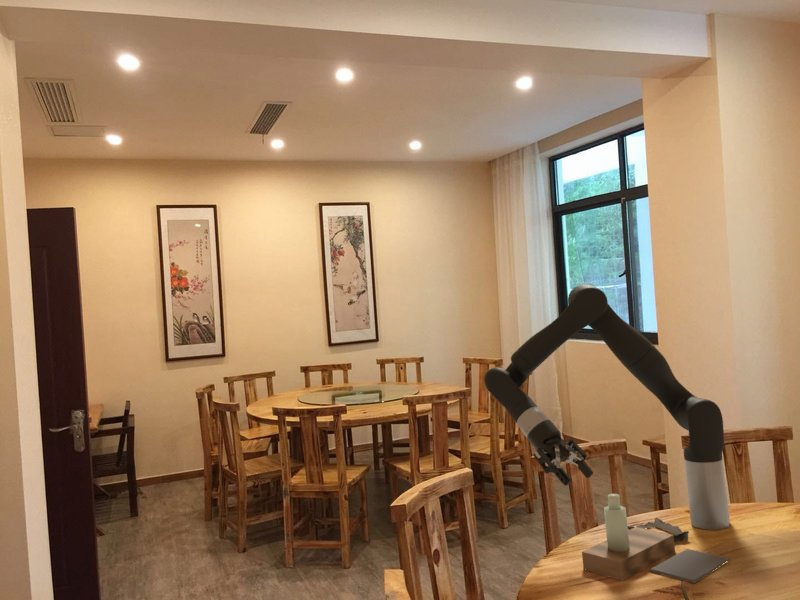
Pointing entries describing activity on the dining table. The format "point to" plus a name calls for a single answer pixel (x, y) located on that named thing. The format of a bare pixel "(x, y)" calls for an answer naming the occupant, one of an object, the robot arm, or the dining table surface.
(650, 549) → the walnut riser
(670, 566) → the charcoal mat
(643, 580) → the dining table surface
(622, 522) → the celadon bottle
